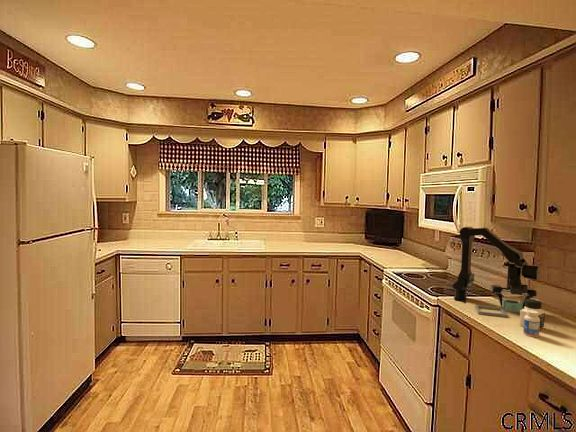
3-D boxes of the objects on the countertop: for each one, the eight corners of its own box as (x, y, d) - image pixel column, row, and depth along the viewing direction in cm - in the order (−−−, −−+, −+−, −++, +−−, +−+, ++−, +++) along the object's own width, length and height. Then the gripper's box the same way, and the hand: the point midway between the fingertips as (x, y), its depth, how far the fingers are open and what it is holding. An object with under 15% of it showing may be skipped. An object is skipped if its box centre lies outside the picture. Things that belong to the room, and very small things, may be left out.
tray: (474, 308, 187) (474, 304, 187) (501, 311, 183) (501, 307, 183) (478, 315, 176) (478, 311, 176) (507, 319, 172) (507, 315, 172)
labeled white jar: (537, 331, 158) (539, 303, 157) (519, 325, 163) (520, 298, 163) (544, 327, 162) (546, 300, 161) (526, 322, 168) (527, 296, 167)
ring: (502, 306, 189) (502, 298, 189) (518, 308, 187) (518, 300, 186) (506, 311, 181) (506, 303, 180) (522, 313, 178) (523, 305, 178)
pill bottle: (522, 331, 157) (523, 308, 156) (537, 333, 155) (538, 310, 154) (524, 335, 152) (526, 312, 151) (540, 338, 150) (541, 314, 149)
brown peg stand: (501, 307, 189) (501, 297, 189) (519, 309, 187) (519, 299, 187) (504, 312, 182) (505, 301, 182) (523, 314, 179) (524, 303, 179)
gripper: (495, 277, 179) (493, 309, 180) (541, 281, 173) (539, 314, 174) (491, 273, 189) (489, 303, 190) (534, 276, 183) (532, 308, 184)
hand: (512, 307), depth 184 cm, fingers open, 9 cm apart
